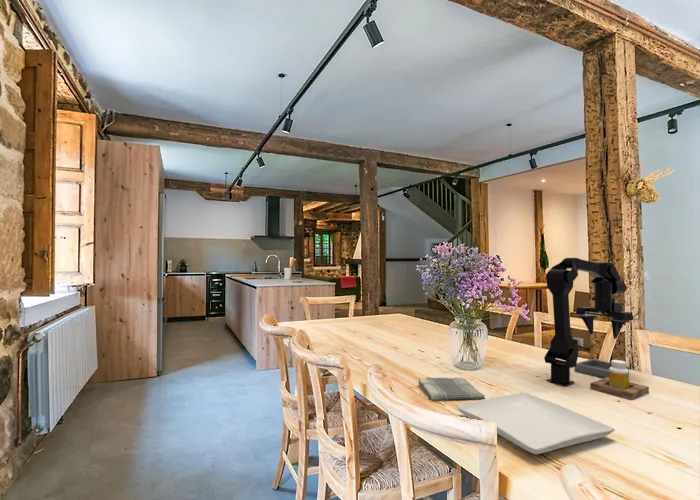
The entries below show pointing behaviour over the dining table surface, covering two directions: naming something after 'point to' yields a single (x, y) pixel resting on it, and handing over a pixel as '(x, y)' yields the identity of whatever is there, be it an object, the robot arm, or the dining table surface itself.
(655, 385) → the dining table surface
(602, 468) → the dining table surface
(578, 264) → the robot arm
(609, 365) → the tray
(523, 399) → the square plate
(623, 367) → the supplement bottle
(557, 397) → the dining table surface
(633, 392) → the socket block
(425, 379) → the dish towel
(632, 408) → the dining table surface
